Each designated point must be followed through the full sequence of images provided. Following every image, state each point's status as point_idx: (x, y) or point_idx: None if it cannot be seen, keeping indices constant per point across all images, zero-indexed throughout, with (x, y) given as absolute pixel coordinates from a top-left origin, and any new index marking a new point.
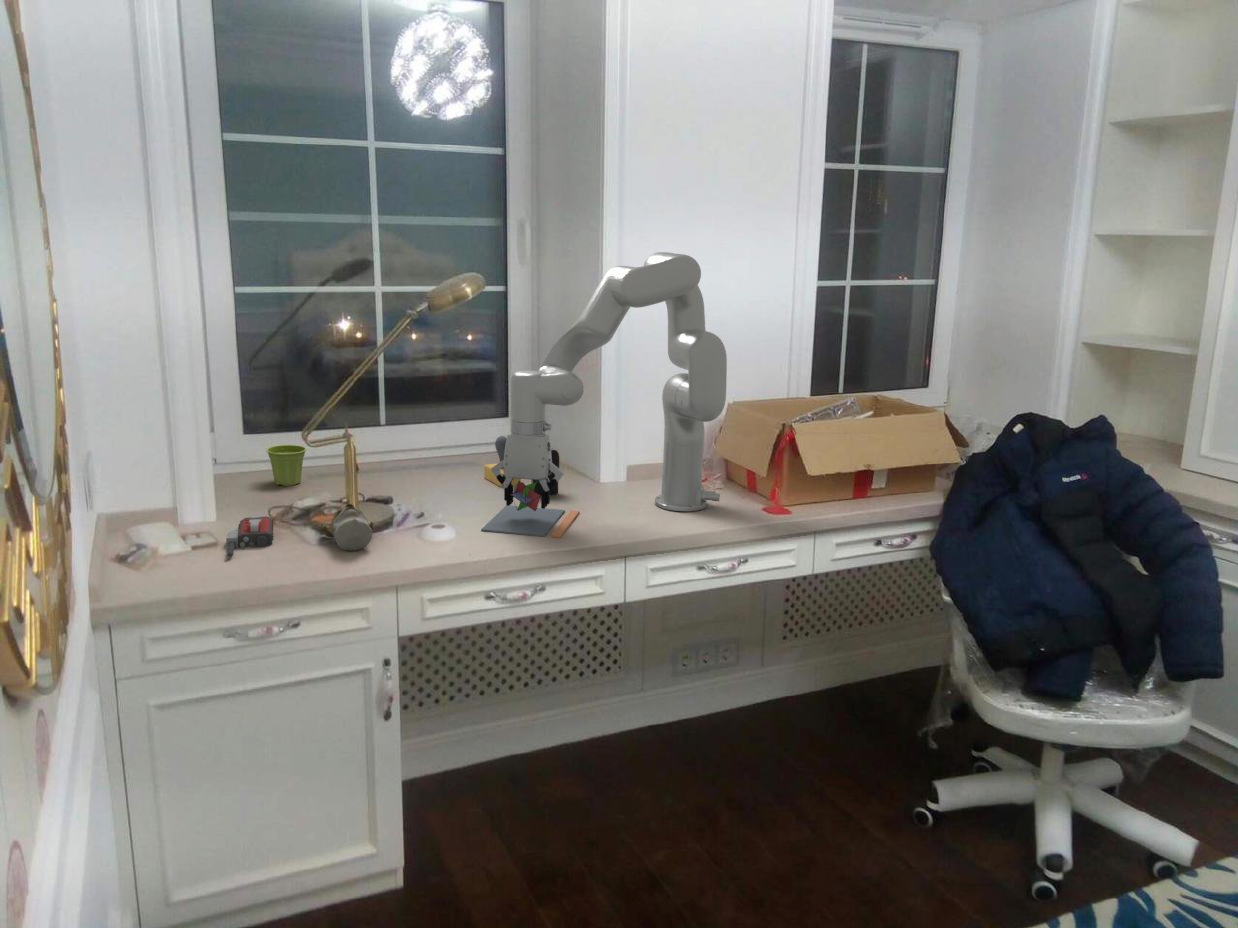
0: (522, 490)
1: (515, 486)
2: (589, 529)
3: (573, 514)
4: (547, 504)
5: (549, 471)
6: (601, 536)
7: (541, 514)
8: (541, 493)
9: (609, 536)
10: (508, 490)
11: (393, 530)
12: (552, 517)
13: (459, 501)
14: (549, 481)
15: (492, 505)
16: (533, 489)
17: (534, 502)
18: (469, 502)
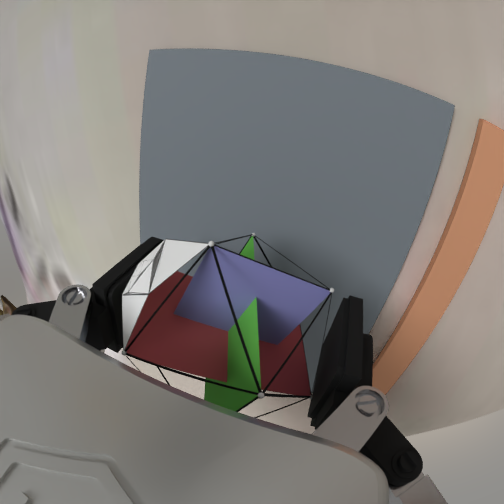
0: (184, 332)
1: (125, 297)
2: (484, 343)
3: (486, 196)
4: (362, 300)
5: (374, 483)
6: (484, 388)
7: (334, 182)
8: (309, 411)
9: (501, 385)
10: (122, 345)
11: (30, 295)
12: (387, 232)
13: (33, 56)
14: (365, 440)
15: (106, 52)
16: (253, 336)
17: (282, 341)
18: (50, 52)
